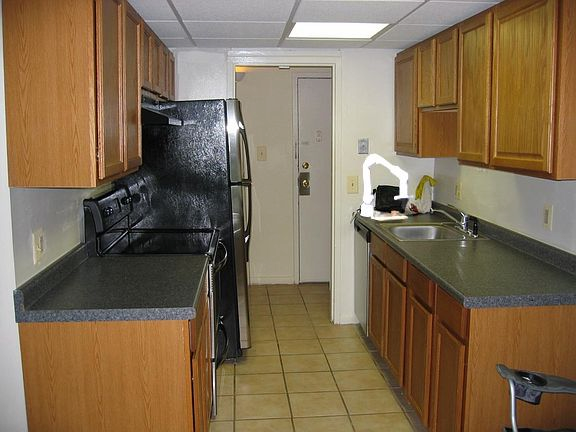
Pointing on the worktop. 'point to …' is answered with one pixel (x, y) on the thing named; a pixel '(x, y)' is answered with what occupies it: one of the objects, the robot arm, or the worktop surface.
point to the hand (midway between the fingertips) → (403, 209)
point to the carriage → (395, 213)
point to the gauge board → (386, 216)
